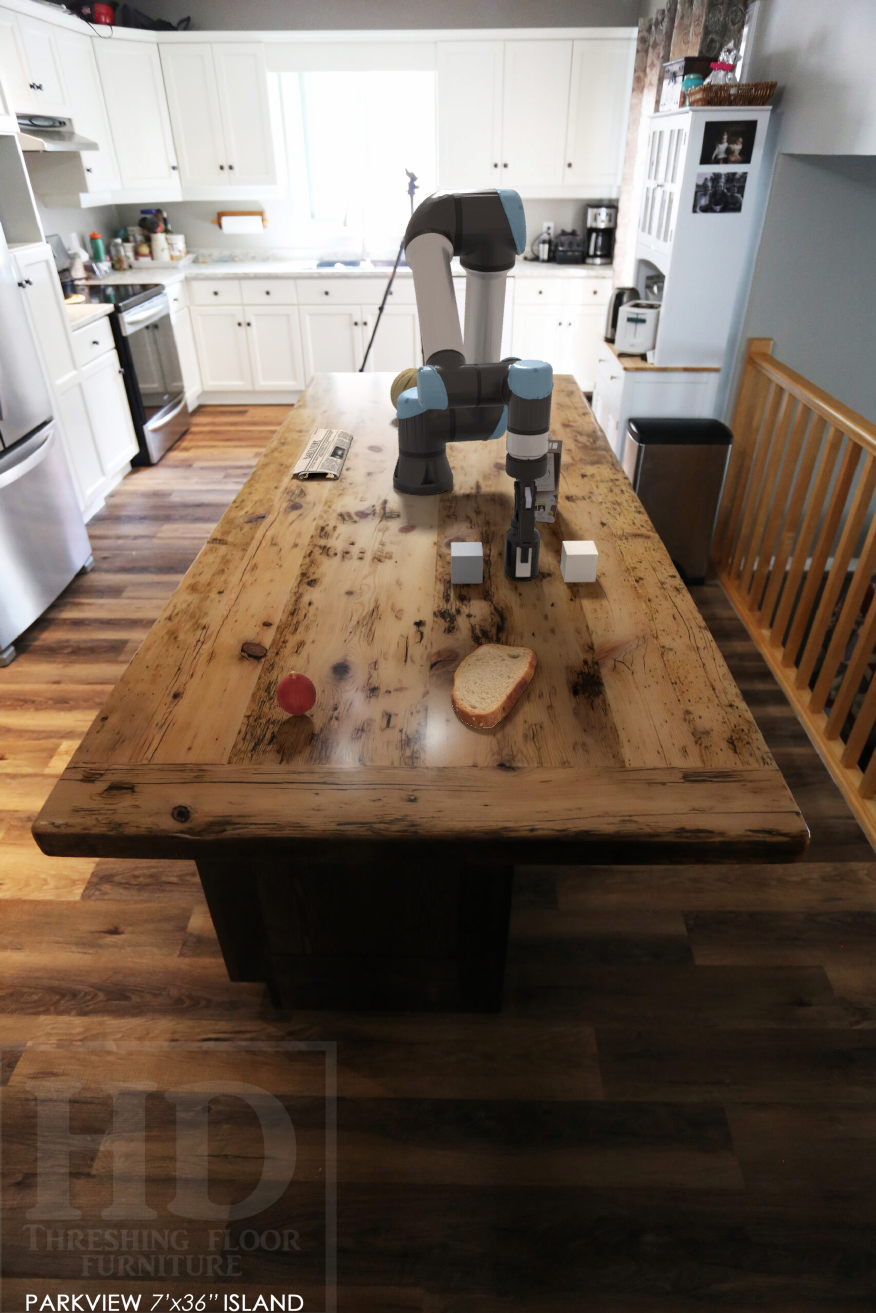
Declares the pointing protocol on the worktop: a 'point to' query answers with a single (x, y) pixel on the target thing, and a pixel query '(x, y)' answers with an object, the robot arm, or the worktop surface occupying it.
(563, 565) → the off-white block
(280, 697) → the onion
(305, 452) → the newspaper
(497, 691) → the bread slice
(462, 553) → the slate-grey block
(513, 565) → the supplement bottle
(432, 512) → the worktop surface
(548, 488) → the coffee box
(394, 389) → the cantaloupe
